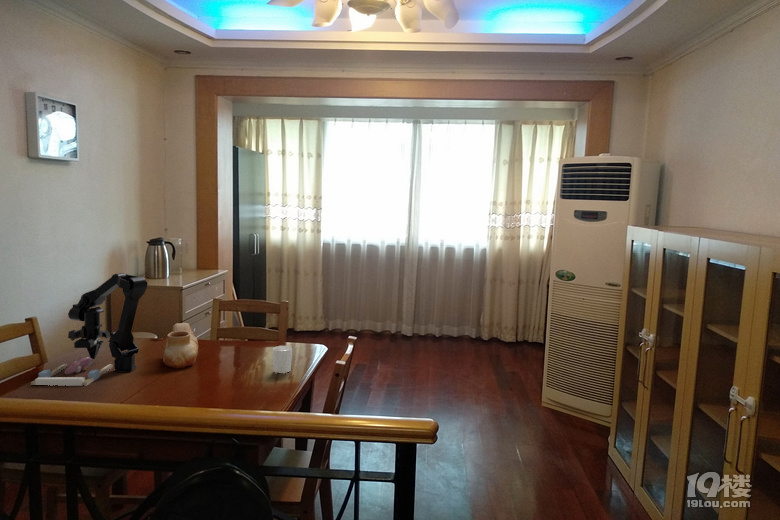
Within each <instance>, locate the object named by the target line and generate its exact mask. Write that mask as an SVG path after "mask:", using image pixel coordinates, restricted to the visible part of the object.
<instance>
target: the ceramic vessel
mask: <svg viewBox="0 0 780 520" xmlns="http://www.w3.org/2000/svg"><path fill="white" fill-rule="evenodd" d="M166 340H167V341H166V343H165V348H164V351H163V357H162V358H163V359H162V362H163V363H164V366H165V367H168V368H172V367H173V369H178V368H180V369H184V367H185V368H186V366H187V367H189V366H193V365H195V363H196V359H197V356H198V355H199V354H198V353H199V342H198V341H199V340H198V338H197V337H196V336H195V334H194V332H193V330H192V329H191V325H190V324H189V323H188V322H182V323H175V324H174V325H173V326H172V331H171V332H169V333H168V334H167V339H166Z"/></svg>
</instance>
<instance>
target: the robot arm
mask: <svg viewBox="0 0 780 520" xmlns="http://www.w3.org/2000/svg"><path fill="white" fill-rule="evenodd" d="M118 288H120V289H122V294H123V296H124V301H123V305H122V311H121V315H120V319H119V323H118V327H117V330H116V331H113V332H110V331H108V330H101V327H103V323H101V313H104V309H103V308H101V307H100V306H101V305H102V304H103V303H104V301H106V297H107V296H108V295H110V294H111V293H112V292H114V290H116V289H118ZM147 288H148V281H147V280H146V278H145V277H144V276H136V275H130V274H128V273H124V272H121V273H114V274H112V275H111V277H110V278H108V279H107V280H106V281H104V282H103V283H102V284H100V285H99V286H98V287H97V288H95V289H93V290H89V291H87V292H85V293H83V294H82V295H81V296H80V299H79V300H78V303H75V304H72V307H71V308H70V309H69V311H68V314H67V316H68V318H69V320H72V321H78V322H83V323H84V325H82V326H81V328H80V329H78V330H75V329H72V330H69V331H68V334H67V335H68V336H67V338H68V339H69V340H71V341H74V343H73V348H74V349H86V350H87V352H88V355H89V357H90V358H92V359H93V360H95V359H96V357H97V355H98V353H99V351H100V349H101V347H102V345H103V343H104V340H101V338H105V339H108V338H109V340H108V342H109V344H108V346H109V351H110V353H111V358H114V359H113V360H114V362H113V368H114V370H113V373H131V372H132V371H134V370H135V369H136V368H137V366H135V365H136V360H135V359H136V358H135V357H136V355H135V354H138V353H139V347H138V346H137V344H136V343H135V342H134V339H135V337H134V334H133V332H132V330H133V327H134V322H135V316H136V313H137V309H138V304H139V301H140V299H141V298H142V297H143V296H144V294H145V292H146V290H147ZM77 339H78V340H77ZM75 340H76V341H75Z"/></svg>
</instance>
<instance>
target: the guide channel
mask: <svg viewBox="0 0 780 520" xmlns="http://www.w3.org/2000/svg"><path fill="white" fill-rule="evenodd" d="M66 367H67V368H68V367H69V364H68V363H64V364H62V365H59V366H57V367H56V368H54V369H52V370H51V369H44V370H42V371H39V372H38V377H37V378H35V379H34V380H33V381H31V382H30V386H31V385H48V386H47V387H49V385H50V386H51V387H52V386H53V385H54V387H55V385H58V386H59V387H60V386H61V387H62V386H63V387H65V385H66V386H67V387H68V386H69V387H73V386H75V387H76V386H79V387H80V386H83V385H84V387H86V386H87V387H88V385H90V384H91V383H93V382H95V381H96V380H97V379H99V378H100V377H102V374H103V375H104V374H105V373H106V371H107V372H108V371H110V370H111V369H113V368H114V363H113V364H112V363H110V364H107V365H105V366H104V367H103V368H101V369H92V370H90V371H89V372H88V373H87V375H88V376H87V379H86V377H85V376H84V377H83V376H75V377H73V376H72V377H71V376H70V377H69V376H67V377H65V376H63V377H61V376H60V377H57V376H55V375H57V374H58V373H60V372H62V371H64V370H66V369H67V368H66ZM63 369H64V370H63ZM109 369H110V370H109ZM61 370H62V371H61ZM56 373H57V374H56ZM51 376H52V377H51ZM54 376H55V377H54Z"/></svg>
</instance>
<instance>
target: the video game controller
mask: <svg viewBox="0 0 780 520" xmlns="http://www.w3.org/2000/svg"><path fill="white" fill-rule="evenodd" d="M94 360H95V359H92V358H91V357H90V356H87V357H80V358H78V359H77V360H74V361H73V362H72V363H71V364H70V365H68V367H67V368H65V369H64V374H65V375H70V374H72V373H74V372H75V373H76V374H79V373H80V372H81V371H83V372H84V370H85V371H87V369H88V368H89V367H90V366H91V365H92V364H93V362H94Z"/></svg>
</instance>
